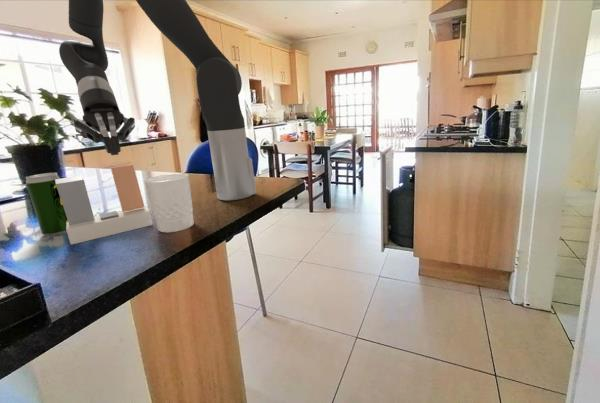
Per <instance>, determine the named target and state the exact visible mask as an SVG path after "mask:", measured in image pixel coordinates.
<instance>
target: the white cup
mask: <svg viewBox="0 0 600 403" xmlns="http://www.w3.org/2000/svg"><path fill="white" fill-rule="evenodd" d="M143 182H144V185H145V189H146V193H147V197H148V200H149V204H150V207H151V210H152V215H153V217H154V218H155V219H154V220H155V223H156V226H157V227H156V228H157V230H158V231H159V232H161V233H175V232H176V233H177V232H181V231H184V230H187V229H189V228H191V227H193V225H194V223H195V222H194V215H193V214H194V213H193V210H194V209H193V201H192V199H193V198H192V194H191V193H192V192H191V183H190V175H189V174H187V173H182V172H181V173H180V172H179V173H169V174H162V175H156V176H152V177H149V178H146V179H145V180H144V181H143Z"/></svg>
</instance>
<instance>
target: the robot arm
mask: <svg viewBox="0 0 600 403" xmlns="http://www.w3.org/2000/svg"><path fill="white" fill-rule="evenodd" d="M135 2H137V4H138V6H139V7H140V8H141V10H142V11H143V12H144V13H145V15H146V16H147V17H148V19H149V20H150V22H151V23H152V24H153V25H154V26H155V27H156V29H158V30H159V31H160V32H161V34H162V35H163V36H164V37H166V39H168V40H169V41H170V42H171V44H173V45H174V46H175V47H176V48H177V49H178V50H179V51H180V52H181V53H182V54H183V55H184V56H185V57H186V58H187V60H189V62H190V63H191V64H192V65H193V68H194V69H195V70H196V78H195V79H196V87H197V94H198V99H199V104H200V109H201V114H202V118H203V121H204V122H205V125H206V131H207V137H208V142H209V150H210V157H211V163H212V170H213V175H214V182H215V183H214V184H215V191H216V195H217V196H216V197H217V199H218V200H221V201H237V200H243V199H246V198H249V197H251V196H253V195H256V194H257V189H256V182H255V175H254V174H255V173H254V166H253V159H252V157H250V156H249V150H248V142H247V133H246V125H245V119H244V116H243V113H242V110H241V105H240V99H239V98H240V97H239V95H240V94H241V90H242V87H243V82H242V76H241V74H240V72H239V69H237V67H236V66H235V65H233V64H232V62H231V61H230V60H229V59H228V58H227V56H225V55H224V54H223V52H222V51H221V50H220V49H219V48H218V47H217V45H216V44H215V43H214V42H213V40H212V39H211V37H210V36H209V35H208V33H207V32H206V29H205V28H204V27H203V25H202V23H201V22H200V20H199V19H198V17H197V15H196V14H195V12H194V10H192V8H191V6H190V4H188V1H186V0H135ZM104 8H105V7H104V1H103V0H68V26H69V28H70V29H71V30H72V32H74V33H76V34H78V35H80V36H82V37H85V38H86V39H89V40H90V41H91V43H88V42H82V41H78V40H72V39H66V40H64V41H62V42H61V43H60V45H59V48H58V53H59V56H60V59H61V62H62V64H63V65H64V67H65V68H66V70H68V72H69V73H70V74H71V76H72V77H73V78H74V80H75V83H76V86H77V94H78V97H79V98H78V99H79V103H80V105H81V109H82V112H83V115H82V120H75V121H74V120H73V125H74V129H75V132H76V133H78V134H80V135H82V136H83V137H85V138H87V139H89V140H90V141H92V142H93V143H95V144H99V143H103V144H104V148H105V150H106V153H107V154H110V156H117V155H119V153H121V151H122V148H121V144H120V141H125V140H126V139H127V138H129V136H130V134H131V133H132V132H133V130H134V129H135V127H136V122H135V118H134V117H129V118H127V117H125V115H124V114H123V113H122V112H121V110H120V107H119V105H118V102H117V99H116V96H115V94H114V90H113V88H112V86H111V85H110V82H109V79H108V76H107V74H106V72H105V71H106V70H108V67H109V59H108V55H107V52H106V47H105V42H104V35H103V25H104V24H103V23H104V11H105V10H104ZM122 125H123V126H122ZM117 131H118V132H117ZM109 133H110V134H109Z"/></svg>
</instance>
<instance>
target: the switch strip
mask: <svg viewBox="0 0 600 403" xmlns="http://www.w3.org/2000/svg"><path fill="white" fill-rule="evenodd" d="M93 216H94V215H93ZM94 219H95V220H92V221H87V222H83V223H78V224H73V225H69V222H67V224H66V230H67V233H66V234H67V237H68V241H69V244H70V245H76V244H79V243H84V242H87V241H92V240H97V239H100V238H101V239H102V238H104V237H108V236H112V235H116V234H121V233H124V232H129V231H133V230H138V229H141V228H145V227H150V226H153V220H152V215H151V211H150V209H149V208H147V207H146V206H145V205H144V208H140V209H135V210H131V211H126V212H122V210H118V211H117V210H113V211H109V212H104V213H99V214H98V215H95V216H94Z"/></svg>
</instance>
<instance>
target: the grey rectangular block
mask: <svg viewBox="0 0 600 403" xmlns="http://www.w3.org/2000/svg"><path fill="white" fill-rule="evenodd" d="M55 182H56V186H57V189H58V192H59V195H60V198H61V201H62V204H63V207H64V210H65V213H66V216H67V219H68V222H69V225H73V224H78V223H83V222H87V221H92V220H95V219H94V213H93V209H92V206H91V201H90V198H89V194H88V190H87V187H86V183H85V180H84V175H77V176H69V177H64V178H60V179H55Z"/></svg>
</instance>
